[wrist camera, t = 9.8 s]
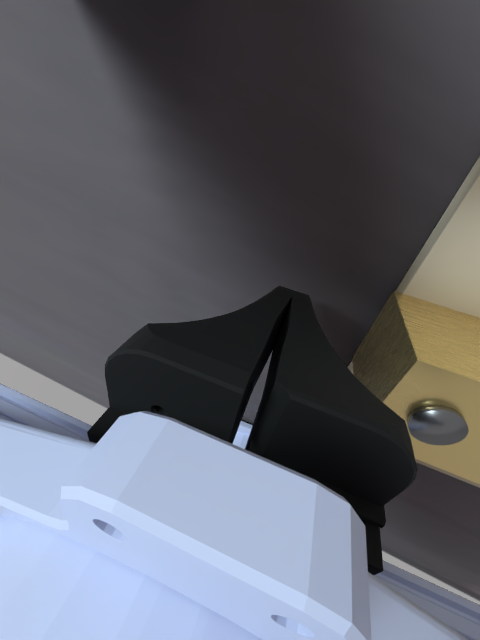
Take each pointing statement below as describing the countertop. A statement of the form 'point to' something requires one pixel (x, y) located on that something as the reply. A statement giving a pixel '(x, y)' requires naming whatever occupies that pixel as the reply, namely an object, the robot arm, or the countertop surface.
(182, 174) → the countertop surface
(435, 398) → the link
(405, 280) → the board
